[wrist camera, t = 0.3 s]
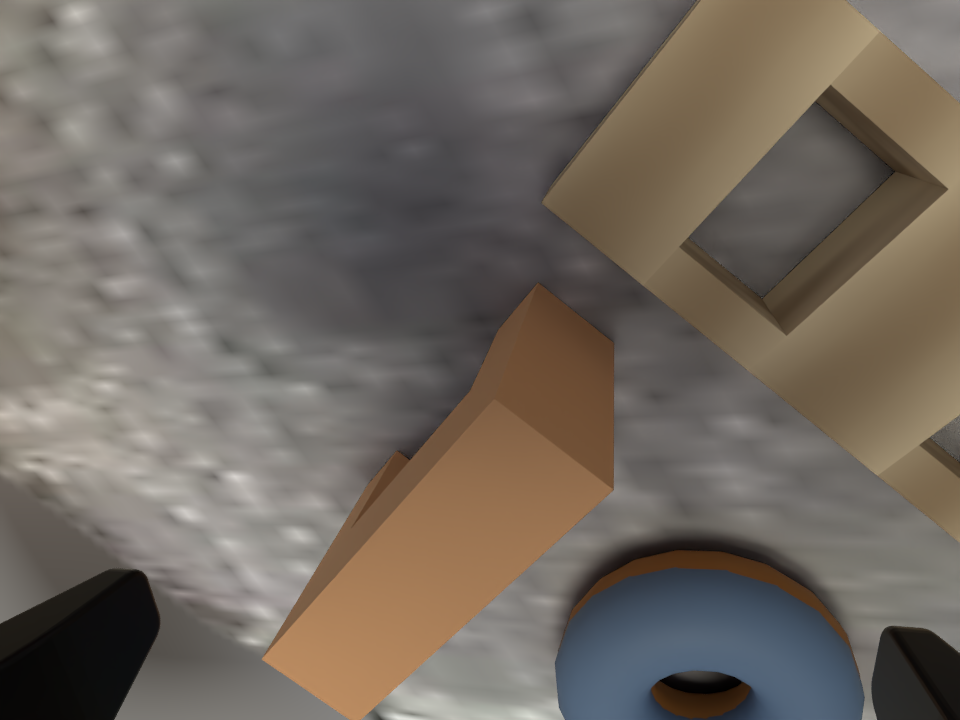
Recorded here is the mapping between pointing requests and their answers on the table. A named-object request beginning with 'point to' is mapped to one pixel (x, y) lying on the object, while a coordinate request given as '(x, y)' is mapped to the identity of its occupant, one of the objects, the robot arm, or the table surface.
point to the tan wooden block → (459, 511)
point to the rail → (836, 260)
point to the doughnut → (705, 644)
